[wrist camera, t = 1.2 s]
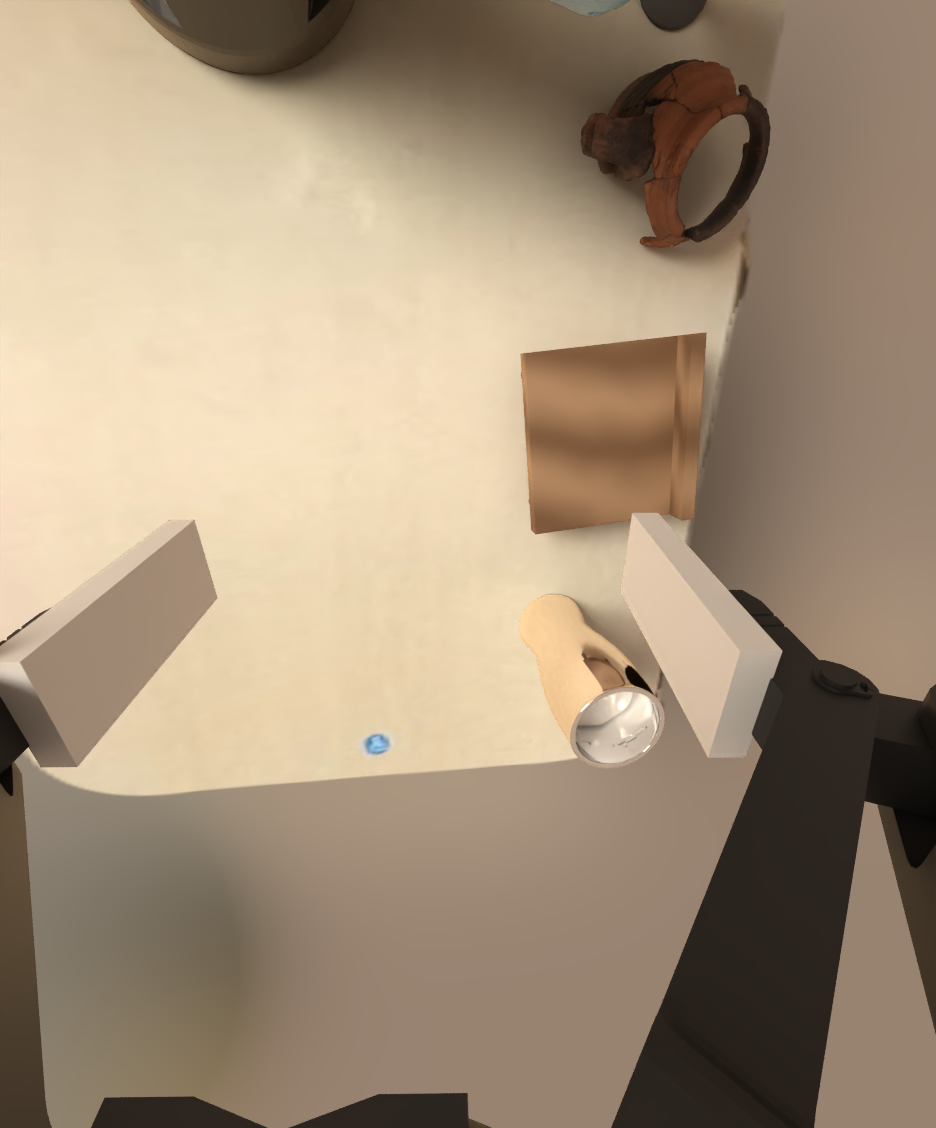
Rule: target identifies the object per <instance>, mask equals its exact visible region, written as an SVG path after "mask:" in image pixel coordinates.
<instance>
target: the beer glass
mask: <svg viewBox="0 0 936 1128" xmlns="http://www.w3.org/2000/svg"><path fill="white" fill-rule="evenodd" d="M519 633H520V637H521V639H522V641H523V642H524V644H525V645H526V646H527V647H528V648H529V649H530V650H531V651H532V652H533V653H534V655H535V657H536V660H537V664H538V669H539V674H540V679H541V684H542V688H543V691H544V695H545V698H546V701H547V703H548V706H549V708H550V710H551V713H552V715H553V716H554V718H555V720H556V722H557V724H558V726H559V727H560V729H561V731H562V732H563V734H564V736H565V737H566V739H567V740H568V742H569V743H570V745H571V747H572V749H573V751H574V753H575V754H576V756H577V757H578V758H579V759H580V760H582V761H583V762H584V763H586V764H588V765H590V766H593V767H597V768H617V767H621V766H625V765H628V764H630V763H632V762H634V761H636V760H638V759H639V758H641V757H642V756H644V755H645V754H646V753H647V752H649V751H650V750H651V749H652V748H653V746H654V745H655V744H656V742H657V741H658V739H659V738H660V736H661V733H662V731H663V727H664V722H665V715H664V710H663V707H662V705H661V703H660V701H659V700H658V699H657V698H656V697H655V695H654V694H653V692H652V691H651V689H650V687H649V686H648V684H647V683H646V681H645V680H644V678H643V677H642V676H641V674H640V673H639V672H638V670H637V669H636V668H635V666H634V665H633V664H632V663H631V661H630V660H629V659H628V658H627V657H626V656H625V655H624V654H623V653H622V652H621V651H620V650H619V649H618V648H617V647H615V646H614V645H613V644H612V643H611V642H609V641H608V640H607V639H605V638H604V637H602V636H601V635H600V634H598V633H597V632H595V631H594V630H593V629H591V628H590V627H589V626H588V625H587V624H586V623H585V620H584V618H583V615H582V613H581V610H580V608H579V607H578V605H577V604H576V603H575V602H574V601H573V600H571V599H570V598H568V597H566V596H563V595H557V594H552V595H546V596H542V597H540V598H538V599H536V600H534V601H533V602H532V603H530V604H529V605H528V606H527V607H526V609H525V610H524V612H523V613H522V615H521V618H520V621H519Z"/></svg>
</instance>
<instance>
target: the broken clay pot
mask: <svg viewBox="0 0 936 1128" xmlns="http://www.w3.org/2000/svg"><path fill="white" fill-rule="evenodd" d="M739 92H740V95H738V96H737V95H736V87H735V84H734V78H733V76H732V75H731V71H730V69H728V68H726V67H723V66H721V65H720V64H719V63H716V62H704V61H699V60H694V59H693V60H683V61H679V62H675V63H673V64H667V65H665V66H663V67H661V68H660V69H657V70H655V71H654V72H651V73H648V74H645V75H643V76H642V77H640V78H638V79H637V80H635V81H634V82H633V83H632V84H630V85H629V86H628V87H627V88H626V89H625V90H624V91H623V92H622V93H621V95H620V96H619V97H618V99H617V100H616V102H615V104H614V105H613V107H612V109H611V110H610V112H609V114H608V115H606V114H604V113H595V114H592V115H591V116H590V117H589V119H588V121H587V122H586V124H585V125H584V126H583V128H582V130H581V147H582V151H583V153H584V154H585V155H587V156H589V157H593V158H595V159H597V161H598V164H599V167H600V171H601V172H602V173H604V174H614V176H615V177H616V178H620V179H622V180H623V181H631V180H633V179H635V178H639V177H641V176H642V175H644V174H645V173H646V171H647V170H648V169H649V166H650V164H651V163H652V164H653V168H654V178H653V179H650V180H648V181H646V182H645V183H644V193H645V201H646V208H647V214H648V216H649V219H650V222H651V226H652V229H653V231H654V233H655V235H656V236H657V237H643V238H641V240H640V243H641V244H644V245H647V246H653V247H669V246H672V245H673V246H675V245H678V244H680V243H682V242H685V241H687V240H690V239H691V240H693V241H695V242H701V241H703V240H706V239H707V238H709V237H711V236H712V235H714V234H716V233H717V232H719V231H720V230H721V229H722V228H724V227H725V226H726V225H727V224H728V223H729V222H730V221H731V220H732V219H733V217H734V216H735V215H736V214H737V212H738V210H740V209H741V208H742V206H743V205H744V204H745V202H746V201H747V200H748V198H749V196H750V194H751V192H752V190H753V189H754V187H755V185H756V184H757V182H758V179H759V177H760V175H761V172H762V170H763V167H764V164H765V162H766V157H767V154H768V146H769V141H770V123H769V116H768V113H767V109H766V108H764V106H763V105H762V104H761V103H760V102H759V101H758V100H756V99H754V98H753V97H752V95H751V93H750V91H749V89H748V87H747V86H746V85H740V86H739ZM655 105H657V106H656V107H655V108H654V110H653V111H652V113H648V112H647V113H644V112H645V108H646V107H650V106H655ZM733 114H742V115H743V116H744V117H745V118H746V120H747V122H748V125H749V131H750V140H749V142H748V143H745V144H744V145H743V157H742V162H741V165H740V169H739V171H738V174H737V175H736V177H735V179H734V181H733V183H732V185H731V187H730V189H729V191H728V193H727V195H726V197H725V198H724V200H723V201H721V202H720V203H719V205H718V206H717V207H716V208H715V209H714V210H713V212H712V213H711V214H710V215H709V216H708V217H707V218H706V219H705V220H704V221H703V222H702V223H701V224H699V225H697V226H694V227H691V228H688V229H686V230H685V225H684V224H683V223H682V221H681V219H680V217H679V214H678V210H677V197H678V190H679V184H680V179H681V174H682V172H683V170H684V168H685V166H686V164H687V161H688V159H689V158H690V156H691V154H692V152H693V151H694V149H695V148H696V146H697V145H698V143H699V142H700V140H701V139H702V138H703V137H704V135H705V134H706V133H707V132H708V131H709V130H710V129H711V128H712V127H713V126H714V125H715V124H716V123H718V122H719V121H720V120H721V119H724V118H725V117H727V116H730V115H733Z"/></svg>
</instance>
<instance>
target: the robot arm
mask: <svg viewBox="0 0 936 1128" xmlns="http://www.w3.org/2000/svg"><path fill="white" fill-rule="evenodd" d="M129 1H130V2H131V4H132V5H133V6H134V7H135V8H136V10H137V11H138V12H139V13H140V14H141V15H142V16H143V17H144V18H145V19H146V20H147V21H148V23H149V24H150V25H152V26H153V27H154V28H155V29H156V30H157V31H158V32H159V33H160V34H161V35H163V36H164V37H165V38H166V39H168V40H169V41H170V42H171V43H173V44H174V45H176V46H177V47H178V48H180V49H181V50H183V51H185V52H186V53H188V54H189V55H191V56H193V57H195V58H197V59H199V60H201V61H203V62H205V63H207V64H210V65H212V66H215V67H218V68H221V69H224V70H228V71H232V72H238V73H245V74H266V73H274V72H279V71H283V70H286V69H289V68H292V67H294V66H296V65H299V64H300V63H302V62H304V61H306V60H308V59H309V58H311V57H312V56H314V55H315V54H316V53H317V52H319V51H320V50H321V49H322V48H323V47H324V46H325V45H326V44H327V43H328V42H329V41H330V40H331V39H332V38H333V36H334V35H335V34H336V33H337V31H338V30H339V28H340V27H341V26H342V24H343V22H344V21H345V19H346V17H347V15H348V13H349V11H350V9H351V7H352V5H353V3H354V0H129ZM551 1H553V2H555V3H557V4H559V5H561V6H563V7H565V8H567V9H569V10H571V11H573V12H575V13H577V14H580V15H583V16H598V15H601V14H603V13H605V12H608V11H610V10H612V9H617V8H619V7H621V6H622V5H624V4H625V3H627V2H628V1H629V0H551ZM620 592H621V594H622V596H623V598H624V600H625V602H626V603H627V605H628V607H629V609H630V611H631V613H632V615H633V617H634V619H635V620H636V622H637V624H638V626H639V628H640V630H641V632H642V634H643V636H644V637H645V639H646V641H647V643H648V645H649V647H650V649H651V651H652V653H653V654H654V656H655V658H656V660H657V662H658V664H659V666H660V668H661V670H662V671H663V673H664V675H665V677H666V679H667V681H668V683H669V685H670V686H671V688H672V690H673V692H674V694H675V696H676V698H677V700H678V702H679V703H680V705H681V707H682V709H683V711H684V713H685V715H686V717H687V719H688V720H689V722H690V724H691V726H692V728H693V730H694V732H695V734H696V736H697V737H698V739H699V741H700V743H701V745H702V747H703V749H704V751H705V753H706V754H707V756H708V758H722V757H723V758H727V757H728V758H731V757H745V756H746V753H747V751H748V748H749V745H750V742H751V739H752V737H753V736H754V738H755V740H756V741H757V743H758V744H759V746H760V747H761V749H762V753H761V755H760V758H759V760H758V763H757V765H756V768H755V770H754V773H753V775H752V778H751V780H750V783H749V786H748V788H747V790H746V793H745V796H744V798H743V800H742V803H741V806H740V808H739V811H738V813H737V816H736V818H735V821H734V823H733V826H732V829H731V831H730V833H729V836H728V838H727V841H726V843H725V846H724V849H723V851H722V853H721V856H720V858H719V861H718V863H717V866H716V869H715V871H714V874H713V876H712V879H711V881H710V884H709V886H708V889H707V891H706V894H705V897H704V899H703V901H702V904H701V906H700V909H699V911H698V914H697V916H696V919H695V921H694V924H693V926H692V929H691V932H690V934H689V937H688V939H687V942H686V944H685V947H684V949H683V952H682V954H681V957H680V959H679V962H678V964H677V967H676V969H675V972H674V974H673V977H672V980H671V982H670V984H669V987H668V989H667V992H666V994H665V997H664V999H663V1002H662V1005H661V1007H660V1009H659V1012H658V1014H657V1016H656V1018H655V1020H654V1023H653V1025H652V1027H651V1030H650V1032H649V1035H648V1037H647V1040H646V1042H645V1045H644V1047H643V1050H642V1052H641V1055H640V1057H639V1059H638V1062H637V1065H636V1067H635V1070H634V1072H633V1075H632V1077H631V1080H630V1082H629V1085H628V1088H627V1090H626V1092H625V1095H624V1097H623V1100H622V1102H621V1105H620V1107H619V1110H618V1112H617V1115H616V1117H615V1120H614V1122H613V1125H612V1128H814V1122H815V1113H816V1106H817V1100H818V1093H819V1087H820V1080H821V1074H822V1068H823V1061H824V1055H825V1049H826V1042H827V1035H828V1030H829V1023H830V1017H831V1011H832V1004H833V998H834V991H835V985H836V979H837V972H838V966H839V960H840V954H841V947H842V941H843V934H844V928H845V922H846V915H847V909H848V903H849V896H850V890H851V884H852V877H853V871H854V864H855V858H856V852H857V845H858V839H859V833H860V826H861V820H862V813H863V807H864V801H866V802H871V803H874V804H877V805H878V809H879V813H880V817H881V820H882V824H883V828H884V832H885V836H886V840H887V844H888V848H889V852H890V856H891V860H892V864H893V868H894V871H895V876H896V880H897V883H898V887H899V891H900V895H901V899H902V903H903V907H904V911H905V915H906V919H907V922H908V927H909V931H910V935H911V938H912V942H913V946H914V950H915V954H916V957H917V962H918V966H919V970H920V974H921V978H922V981H923V985H924V989H925V993H926V997H927V1001H928V1005H929V1009H930V1013H931V1017H932V1021H933V1025H934V1029H935V1033H936V685H934V686H933V687H932V688H930V690H929V692H928V693H927V695H926V697H925V699H924V701H923V702H922V701H917V700H912V699H906V698H901V697H896V696H891V695H885V694H881V693H879V690H878V689H877V687H876V686H875V685H874V684H873V683H872V682H871V681H870V680H869V679H868V678H866V677H865V676H863V675H862V674H860V673H859V672H857V671H855V670H853V669H850V668H848V667H846V666H844V665H841V664H837V663H834V662H829V661H826V660H818V659H817V658H816V657H815V656H814V654H812V653H811V651H810V650H809V649H808V648H807V647H806V646H805V645H804V644H803V643H802V642H801V641H800V640H799V639H798V638H797V637H796V636H795V635H794V634H793V633H792V632H791V631H790V630H789V629H788V628H787V627H784V624H783V623H782V622H781V621H780V620H779V619H778V618H777V617H776V616H775V617H774V614H773V613H772V612H771V611H770V610H769V609H768V608H767V606H766V605H765V604H764V603H762V601H760V600H758V599H757V598H755V597H753V596H752V595H750V594H748V593H746V592H745V591H743V590H727V589H726V588H725V586H723V584H722V583H721V582H720V581H719V580H718V579H717V578H716V576H715V575H714V574H713V573H712V572H711V571H710V570H709V569H708V568H707V567H706V565H705V564H704V563H703V562H702V561H701V560H700V559H699V558H698V557H697V555H696V554H695V553H694V552H693V551H692V550H691V549H690V548H689V547H688V545H687V544H686V543H685V542H684V541H683V540H682V539H681V538H680V537H679V535H678V534H677V533H676V532H675V531H674V530H673V529H672V528H671V527H670V525H669V524H668V523H667V522H666V521H665V520H664V519H663V518H662V517H661V515H660V514H659V513H632V518H631V525H630V532H629V538H628V545H627V552H626V558H625V565H624V571H623V578H622V585H621V591H620ZM216 599H217V595H216V592H215V588H214V585H213V581H212V578H211V575H210V571H209V568H208V565H207V561H206V558H205V554H204V551H203V548H202V544H201V541H200V537H199V534H198V531H197V527H196V524H195V520H168V521H167V522H166V523H164V524H163V525H162V526H160V527H159V528H158V529H156V530H155V531H154V532H152V533H151V534H150V535H148V536H147V537H146V538H144V539H143V540H142V541H140V542H139V543H138V544H136V545H135V546H134V547H132V548H131V549H130V550H128V551H127V552H126V553H124V554H123V555H122V556H120V557H119V558H118V559H116V560H115V561H114V562H112V563H111V564H110V565H108V566H107V567H106V568H104V569H103V570H101V571H100V572H99V573H97V574H96V575H95V576H93V577H92V578H91V579H89V580H88V581H87V582H85V583H84V584H83V585H81V586H80V587H79V588H77V589H76V590H75V591H73V592H72V593H71V594H69V595H68V596H67V597H65V598H64V599H63V600H61V601H60V602H59V603H57V604H56V605H55V606H53V607H52V608H50V609H48V610H45V611H43V612H41V613H39V614H38V615H37V616H35V617H34V618H33V619H31V620H30V621H29V622H27V623H26V624H25V625H23V626H22V629H18V630H16V631H15V632H14V633H12V634H11V635H10V636H8V637H7V640H3V641H2V642H0V1128H52V1127H51V1124H50V1121H49V1117H48V1114H47V1109H46V1101H45V1089H44V1076H43V1063H42V1062H43V1061H42V1048H41V1034H40V1020H39V1008H38V1007H39V1006H38V993H37V979H36V964H35V950H34V936H33V924H32V923H33V922H32V908H31V895H30V881H29V867H28V853H27V840H26V825H25V811H24V799H23V798H24V797H23V784H22V774H21V772H20V770H19V768H18V767H17V765H16V764H15V762H14V761H15V760H16V759H17V758H18V757H19V756H20V755H21V754H22V753H23V752H24V751H25V750H26V749H27V748H28V747H29V749H30V750H31V752H32V754H33V755H34V757H35V759H36V760H37V762H38V763H39V765H40V767H78V766H79V764H80V763H81V762H82V761H83V760H84V758H85V757H86V756H87V755H88V754H89V752H90V751H91V750H92V749H93V748H94V746H95V745H96V744H97V743H98V741H99V740H100V739H101V738H102V737H103V735H104V734H105V733H106V732H107V731H108V729H109V728H110V727H111V726H112V725H113V723H114V722H115V721H116V720H117V719H118V717H119V716H120V715H121V714H122V713H123V711H124V710H125V709H126V708H127V706H128V705H129V704H130V703H131V702H132V700H133V699H134V698H135V697H136V696H137V694H138V693H139V692H140V691H141V690H142V688H143V687H144V686H145V685H146V684H147V682H148V681H149V680H150V679H151V678H152V676H153V675H154V674H155V673H156V671H157V670H158V669H159V668H160V667H161V665H162V664H163V663H164V662H165V661H166V659H167V658H168V657H169V656H170V655H171V653H172V652H173V651H174V650H175V649H176V647H177V646H178V645H179V644H180V643H181V641H182V640H183V639H184V638H185V637H186V635H187V634H188V633H189V632H190V630H191V629H192V628H193V627H194V626H195V624H196V623H197V622H198V621H199V620H200V618H201V617H202V616H203V615H204V614H205V612H206V611H207V610H208V609H209V608H210V606H211V605H212V604H213V603H214V602H215V600H216ZM91 1128H267V1127H264V1126H262V1125H260V1124H257V1123H255V1122H253V1121H250V1120H248V1119H245V1118H243V1117H240V1116H238V1115H236V1114H234V1113H231V1112H229V1111H226V1110H224V1109H221V1108H219V1107H217V1106H215V1105H212V1104H209V1103H207V1102H205V1101H203V1100H200V1099H198V1098H196V1097H128V1098H127V1097H122V1098H121V1097H120V1098H104V1100H103V1103H102V1105H101V1107H100V1109H99V1111H98V1114H97V1116H96V1118H95V1120H94V1122H93V1125H92V1127H91ZM290 1128H491V1127H489V1126H486V1125H484V1124H481V1123H479V1122H476V1121H474V1120H471V1119H469V1120H468V1095H467V1093H443V1094H378V1095H376V1096H373V1097H370V1098H367V1099H365V1100H362V1101H359V1102H357V1103H354V1104H351V1105H349V1106H346V1107H343V1108H341V1109H338V1110H335V1111H333V1112H330V1113H327V1114H325V1115H322V1116H319V1117H317V1118H314V1119H311V1120H309V1121H306V1122H303V1123H301V1124H298V1125H296V1126H293V1127H290Z"/></svg>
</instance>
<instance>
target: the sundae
mask: <svg viewBox="0 0 936 1128" xmlns="http://www.w3.org/2000/svg"><path fill="white" fill-rule="evenodd" d="M640 1H641V4H642V7H643V8H644V10H645V12H646V14H647V15H648V17H649V18H650V20H651V21H653V22H654V23H655V24H656V25H658V26H660V27H662V28H663V29H670V30H673V29H680V28H682V27H685V26H686V25H688V24H690V23H691V22H692V21H693V20H694V19H695V18H696V17H697V16H698V15H699V13H700V12H701V11H702V9H703V7H704V5H705V3H706V1H707V0H640Z"/></svg>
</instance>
